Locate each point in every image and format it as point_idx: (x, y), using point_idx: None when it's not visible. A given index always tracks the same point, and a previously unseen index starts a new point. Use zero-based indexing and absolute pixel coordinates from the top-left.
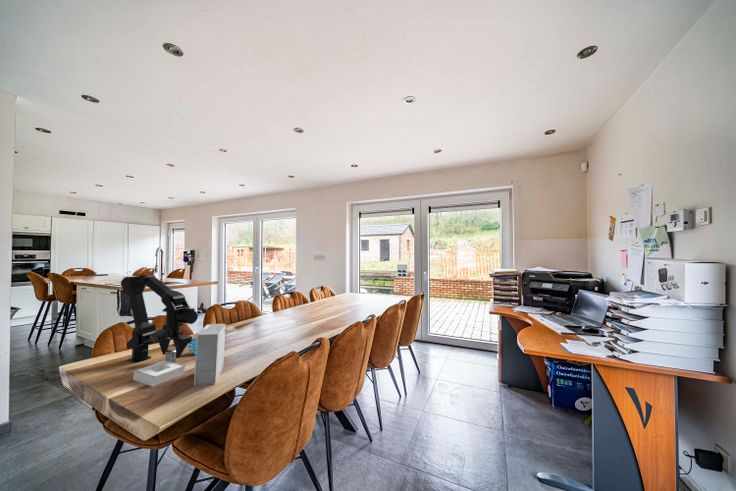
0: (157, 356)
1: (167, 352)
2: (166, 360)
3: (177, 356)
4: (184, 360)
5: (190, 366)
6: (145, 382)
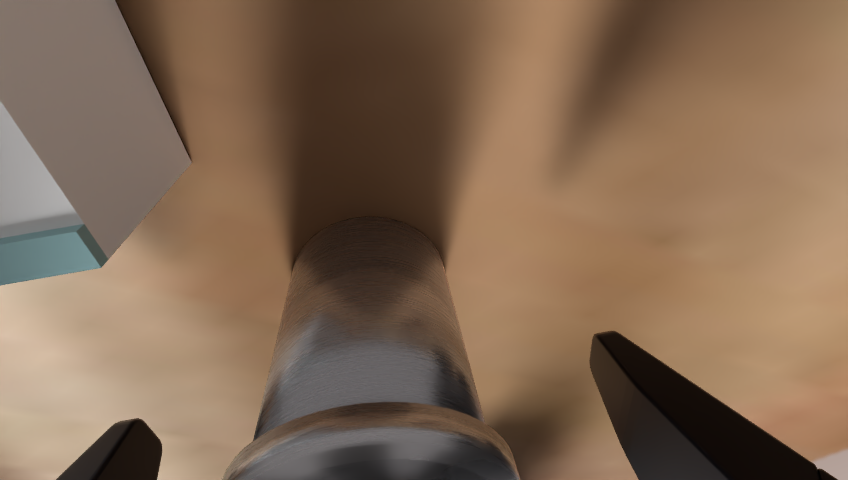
0: (821, 270)
1: (274, 463)
2: (23, 258)
3: (77, 471)
4: None
5: (36, 400)
6: None
